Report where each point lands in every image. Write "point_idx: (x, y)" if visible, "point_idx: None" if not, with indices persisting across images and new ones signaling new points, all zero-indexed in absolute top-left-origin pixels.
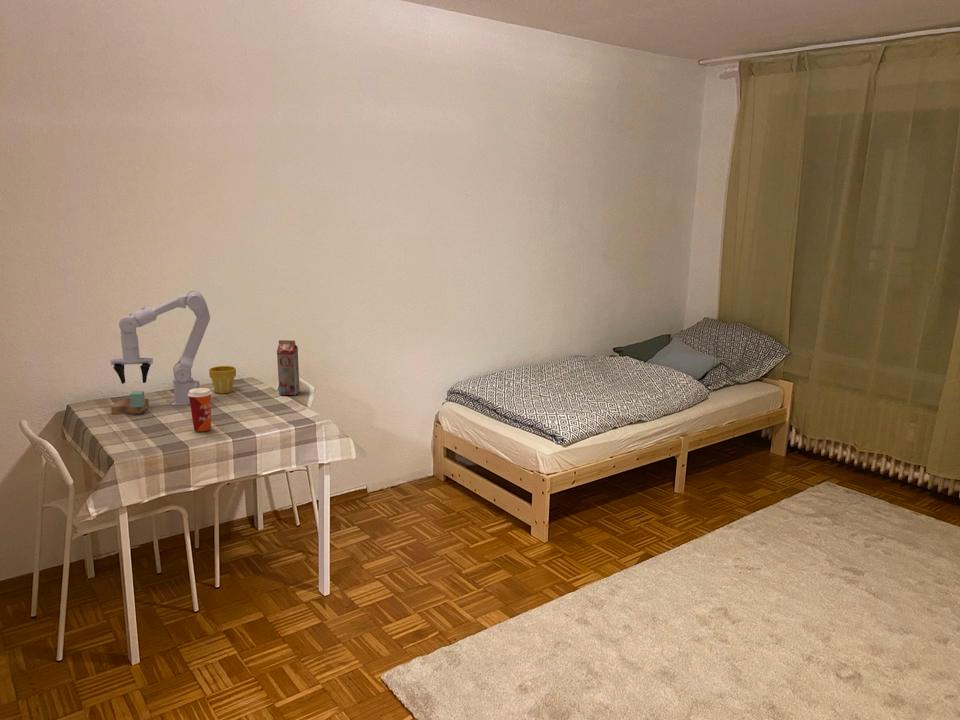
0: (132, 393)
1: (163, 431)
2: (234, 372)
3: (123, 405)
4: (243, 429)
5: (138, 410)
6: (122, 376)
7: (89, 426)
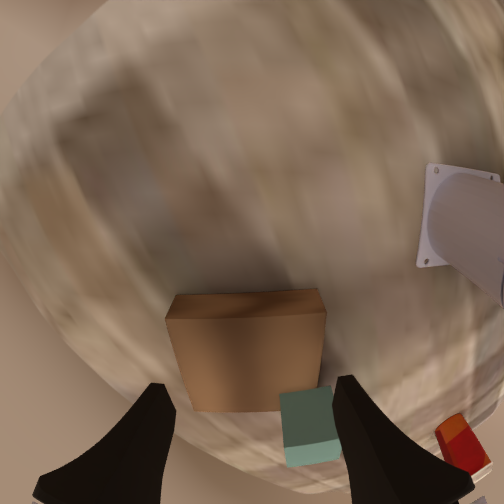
0: (296, 462)
1: None
2: None
3: (239, 403)
4: (492, 404)
5: None
6: (159, 457)
7: (198, 447)
